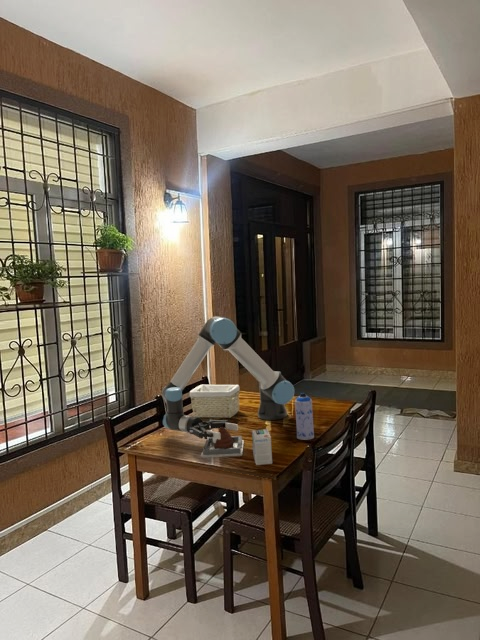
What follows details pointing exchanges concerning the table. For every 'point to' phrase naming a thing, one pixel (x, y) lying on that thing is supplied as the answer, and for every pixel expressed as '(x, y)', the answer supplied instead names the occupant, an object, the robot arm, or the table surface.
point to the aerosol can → (304, 417)
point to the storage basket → (215, 401)
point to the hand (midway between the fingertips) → (229, 431)
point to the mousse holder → (223, 452)
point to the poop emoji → (223, 439)
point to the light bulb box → (262, 447)
